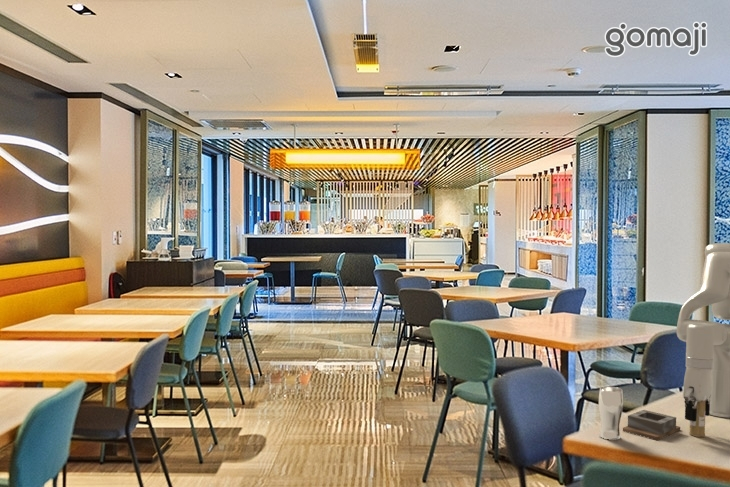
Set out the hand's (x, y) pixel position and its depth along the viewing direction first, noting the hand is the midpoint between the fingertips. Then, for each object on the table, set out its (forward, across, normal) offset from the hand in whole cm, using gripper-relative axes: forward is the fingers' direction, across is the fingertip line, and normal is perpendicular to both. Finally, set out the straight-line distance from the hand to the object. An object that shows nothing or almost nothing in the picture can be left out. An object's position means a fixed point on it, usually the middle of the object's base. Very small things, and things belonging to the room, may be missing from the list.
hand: (697, 417), depth 196 cm
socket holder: (+6, +7, -11) cm, 14 cm away
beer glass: (+6, +24, -16) cm, 29 cm away
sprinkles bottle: (+6, 0, 0) cm, 6 cm away
